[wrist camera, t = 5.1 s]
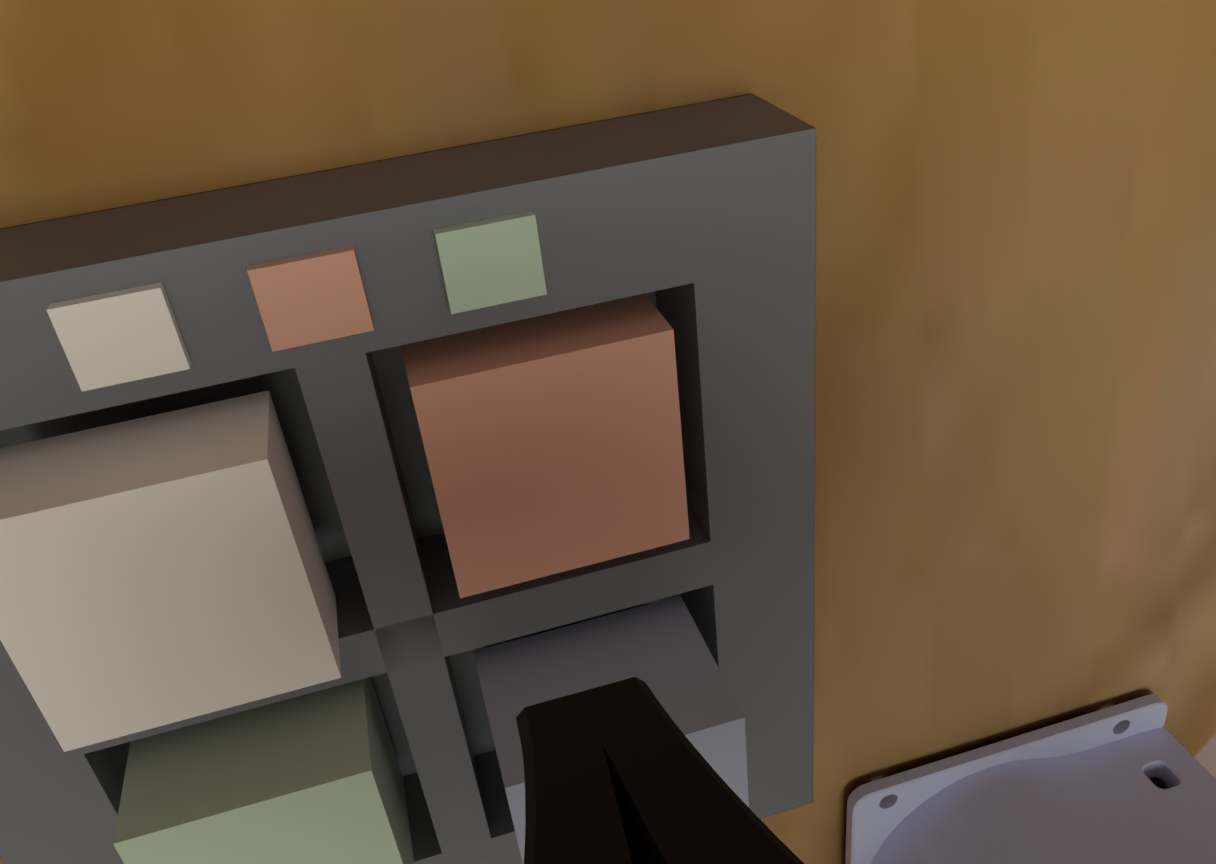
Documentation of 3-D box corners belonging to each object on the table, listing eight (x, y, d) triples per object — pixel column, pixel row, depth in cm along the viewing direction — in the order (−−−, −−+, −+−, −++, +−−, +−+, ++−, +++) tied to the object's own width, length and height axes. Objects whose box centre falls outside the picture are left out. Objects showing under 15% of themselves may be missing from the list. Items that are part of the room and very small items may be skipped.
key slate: (680, 595, 19) (744, 717, 16) (693, 740, 21) (751, 868, 19) (472, 651, 18) (504, 788, 16) (506, 795, 21) (540, 937, 18)
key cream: (269, 390, 15) (267, 459, 13) (335, 596, 17) (341, 677, 15) (-20, 452, 14) (-60, 534, 13) (86, 659, 16) (64, 752, 15)
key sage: (359, 640, 19) (371, 770, 16) (403, 781, 21) (421, 916, 18) (137, 698, 18) (112, 843, 16) (206, 838, 20) (195, 987, 18)
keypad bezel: (752, 93, 17) (821, 131, 15) (769, 724, 25) (816, 809, 22) (-256, 275, 14) (-354, 353, 12) (126, 915, 22) (109, 1032, 20)
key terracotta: (634, 281, 17) (673, 329, 15) (654, 477, 19) (689, 539, 17) (396, 331, 16) (410, 387, 15) (444, 529, 18) (460, 598, 17)
